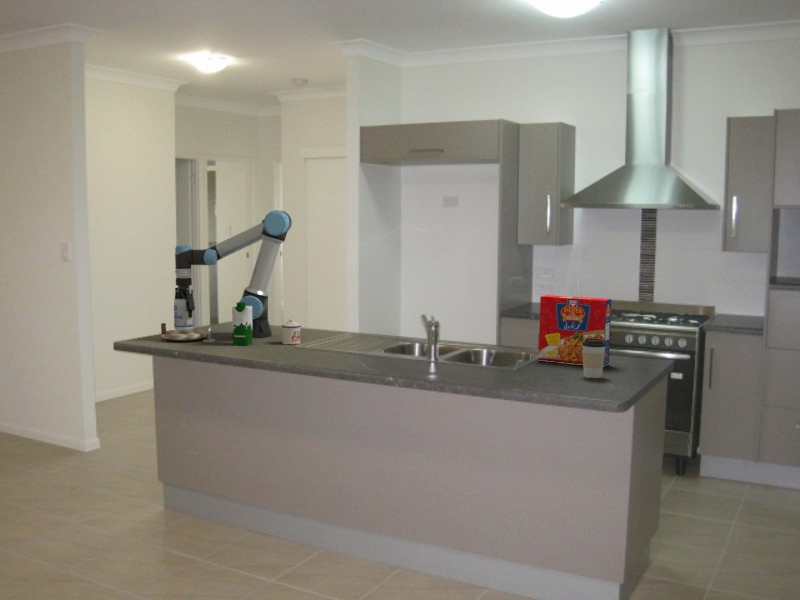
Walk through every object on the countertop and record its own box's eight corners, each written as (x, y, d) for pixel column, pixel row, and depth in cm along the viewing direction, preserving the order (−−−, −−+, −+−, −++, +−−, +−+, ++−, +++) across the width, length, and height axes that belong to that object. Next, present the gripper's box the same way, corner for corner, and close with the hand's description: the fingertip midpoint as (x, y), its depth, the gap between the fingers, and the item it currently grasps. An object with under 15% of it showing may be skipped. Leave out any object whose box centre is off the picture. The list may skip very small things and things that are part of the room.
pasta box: (538, 361, 349) (540, 296, 346) (545, 358, 356) (547, 294, 353) (603, 368, 335) (605, 300, 332) (608, 365, 342) (611, 299, 339)
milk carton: (230, 345, 381) (230, 303, 378) (236, 342, 390) (236, 300, 387) (249, 346, 380) (248, 303, 378) (254, 343, 389) (254, 301, 387)
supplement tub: (170, 330, 393) (169, 299, 392) (182, 327, 402) (181, 298, 401) (187, 330, 390) (186, 300, 389) (198, 328, 399) (198, 298, 398)
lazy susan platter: (201, 331, 412) (200, 318, 411) (213, 337, 392) (213, 323, 392) (156, 334, 401) (156, 320, 400) (166, 340, 382) (166, 326, 381)
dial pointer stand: (215, 341, 392) (215, 326, 391) (210, 342, 388) (209, 328, 388) (206, 340, 394) (206, 326, 393) (201, 341, 391) (200, 327, 390)
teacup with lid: (294, 345, 382) (294, 321, 381) (277, 344, 386) (277, 319, 385) (307, 342, 393) (307, 318, 392) (291, 340, 397) (291, 316, 396)
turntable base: (205, 338, 400) (205, 335, 400) (187, 342, 388) (187, 339, 388) (182, 336, 406) (182, 333, 406) (163, 340, 393) (163, 337, 393)
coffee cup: (601, 374, 321) (602, 337, 319) (607, 379, 312) (609, 340, 310) (578, 374, 321) (579, 337, 319) (584, 379, 312) (585, 340, 310)
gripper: (166, 276, 400) (167, 321, 402) (187, 279, 383) (188, 326, 385) (180, 275, 404) (181, 320, 407) (201, 278, 388) (202, 325, 390)
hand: (184, 323), depth 396 cm, fingers open, 10 cm apart
